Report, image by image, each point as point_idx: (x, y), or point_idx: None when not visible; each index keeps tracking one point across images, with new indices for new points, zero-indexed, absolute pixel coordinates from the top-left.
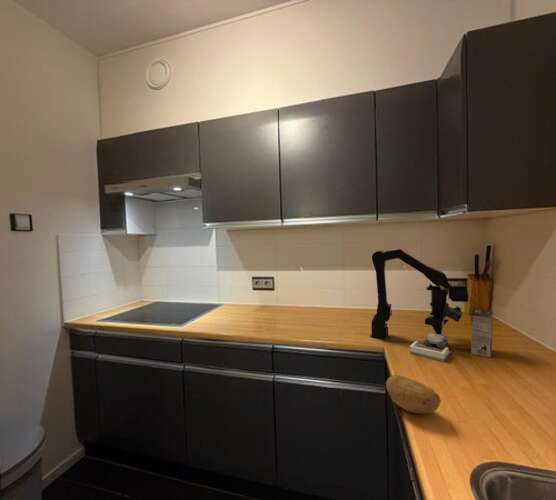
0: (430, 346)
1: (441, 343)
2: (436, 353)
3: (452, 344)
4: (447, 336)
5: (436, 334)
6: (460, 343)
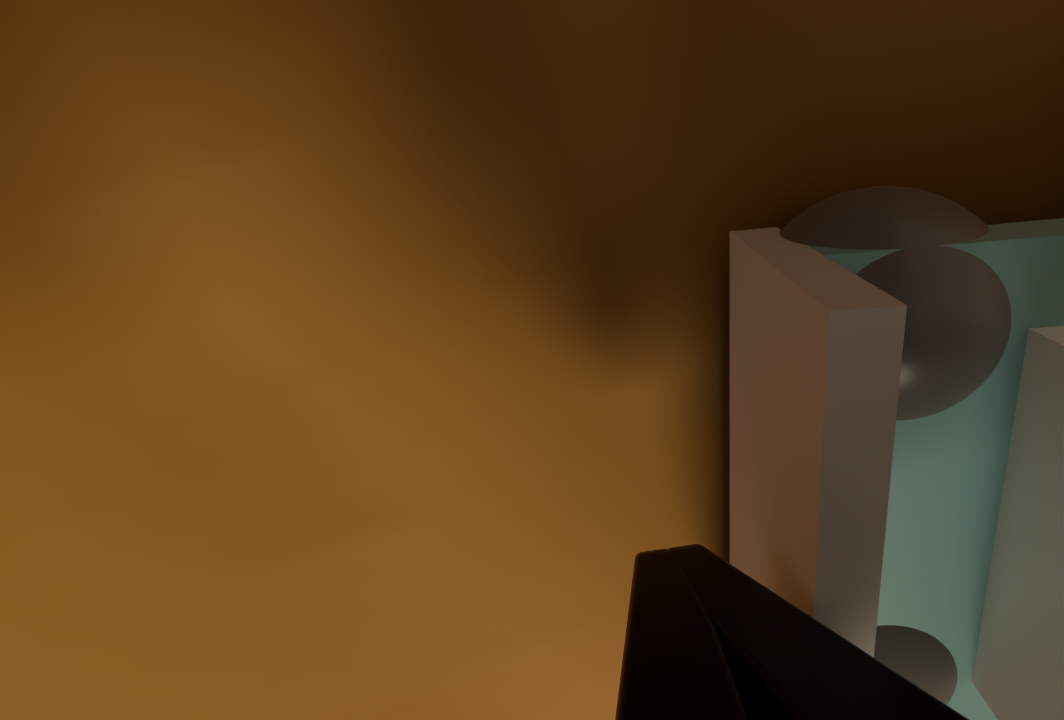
0: None
1: None
2: None
3: (461, 175)
4: (889, 308)
5: None
6: (171, 4)
